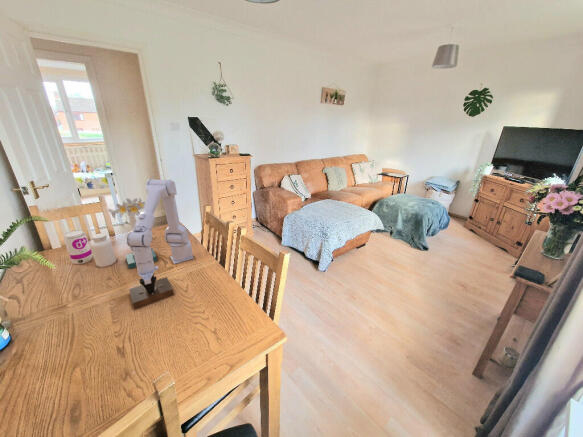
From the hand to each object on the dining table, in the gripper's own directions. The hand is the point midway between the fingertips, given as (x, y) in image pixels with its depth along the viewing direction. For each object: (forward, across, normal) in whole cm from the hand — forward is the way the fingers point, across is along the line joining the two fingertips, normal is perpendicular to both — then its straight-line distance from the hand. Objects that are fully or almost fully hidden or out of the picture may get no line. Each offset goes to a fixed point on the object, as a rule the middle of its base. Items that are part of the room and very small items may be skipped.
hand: (150, 288), depth 96 cm
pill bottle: (+3, +36, +18) cm, 40 cm away
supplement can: (+3, +44, +28) cm, 52 cm away
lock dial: (0, 0, 0) cm, 0 cm away
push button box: (+3, +31, +3) cm, 31 cm away
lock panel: (+3, 0, 0) cm, 3 cm away
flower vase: (+3, +55, +5) cm, 55 cm away
